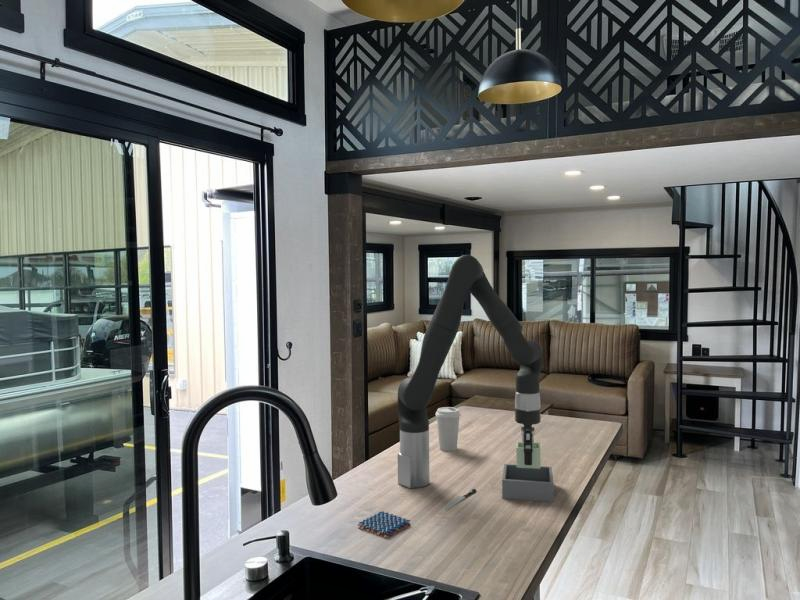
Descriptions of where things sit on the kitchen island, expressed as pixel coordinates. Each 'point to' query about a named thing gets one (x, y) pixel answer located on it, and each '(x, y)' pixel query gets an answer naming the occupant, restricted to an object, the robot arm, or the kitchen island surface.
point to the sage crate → (535, 456)
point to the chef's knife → (458, 499)
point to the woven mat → (384, 524)
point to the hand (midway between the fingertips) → (528, 460)
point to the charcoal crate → (527, 483)
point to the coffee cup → (448, 427)
